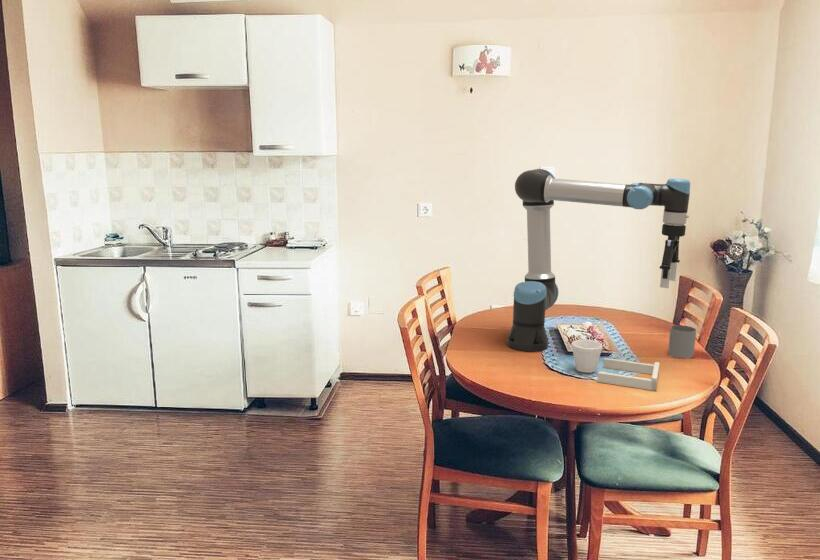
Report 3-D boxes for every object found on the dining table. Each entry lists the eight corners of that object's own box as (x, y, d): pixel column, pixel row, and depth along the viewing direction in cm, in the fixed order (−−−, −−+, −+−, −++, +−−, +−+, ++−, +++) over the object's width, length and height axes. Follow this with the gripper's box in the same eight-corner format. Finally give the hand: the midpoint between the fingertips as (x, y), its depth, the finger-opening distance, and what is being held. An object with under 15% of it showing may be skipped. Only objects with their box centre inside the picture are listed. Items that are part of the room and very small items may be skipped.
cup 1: (563, 367, 218) (565, 341, 216) (587, 363, 222) (589, 338, 220) (582, 377, 209) (584, 350, 207) (607, 373, 213) (609, 346, 211)
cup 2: (695, 359, 227) (698, 332, 225) (670, 358, 229) (673, 331, 226) (690, 352, 235) (693, 325, 233) (666, 350, 237) (669, 324, 235)
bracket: (597, 381, 205) (598, 370, 204) (604, 366, 220) (604, 355, 219) (655, 390, 199) (656, 378, 198) (658, 373, 213) (659, 362, 212)
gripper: (680, 229, 209) (673, 292, 214) (691, 221, 230) (684, 278, 235) (655, 227, 213) (649, 289, 218) (669, 219, 234) (662, 276, 239)
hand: (667, 284), depth 226 cm, fingers open, 13 cm apart
